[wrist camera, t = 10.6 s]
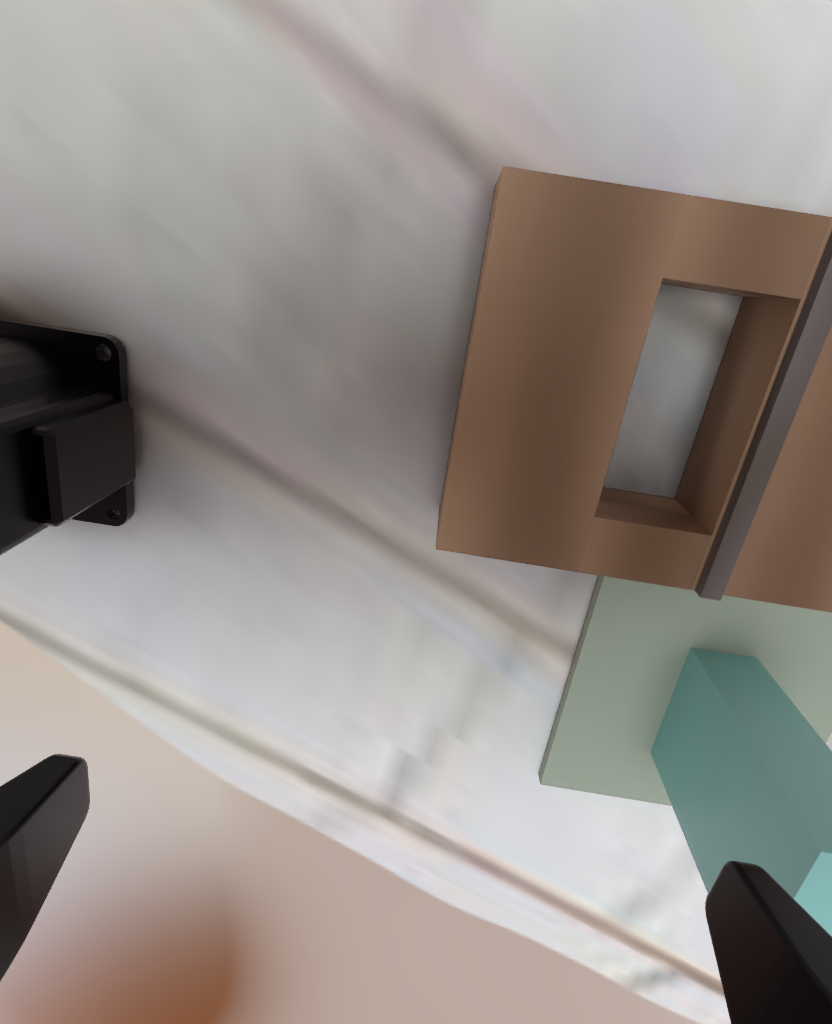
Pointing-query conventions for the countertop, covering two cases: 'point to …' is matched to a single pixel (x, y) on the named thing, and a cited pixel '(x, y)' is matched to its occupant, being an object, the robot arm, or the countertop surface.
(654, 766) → the mat
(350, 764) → the countertop surface
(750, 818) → the tall teal box
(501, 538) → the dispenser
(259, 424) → the countertop surface
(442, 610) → the countertop surface
